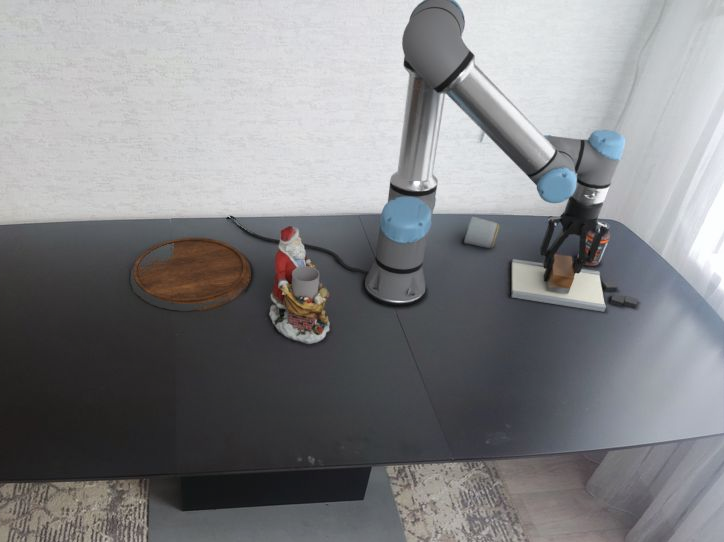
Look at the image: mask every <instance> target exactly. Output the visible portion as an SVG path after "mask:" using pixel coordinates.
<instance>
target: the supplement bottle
mask: <svg viewBox="0 0 724 542" xmlns="http://www.w3.org/2000/svg"><path fill="white" fill-rule="evenodd" d="M598 222H599V223H602V224H603V223H606V224H607V229H608V231H607V232H606V233H605V234H604V235H603V237H602V239H601V242H600V244H599V247H598V250H597V252H596V255H595V258H594V260H593V262H591V263H590V262H585V264H584V265H583V266H587V267H596V266H598V265H599V264H600V263H601V261H602V258H603V255H604V253H605V250H606V248H607V246H608V243H609V241H610V238H611V234H610V232H609V230H610V228H611V225H610V224H609V223H608V222H605V221H600V220H598ZM595 233H596V227H595V228H593V229H592V230H590V231H589V232H587V235H586V249H585V255H588V252H589V249H590V246H591V244H592V241H593V238H594V235H595ZM576 258H578V259H579V251H578V252H577V255H576Z"/></svg>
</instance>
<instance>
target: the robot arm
mask: <svg viewBox="0 0 724 542" xmlns="http://www.w3.org/2000/svg"><path fill="white" fill-rule="evenodd" d="M465 25H466V20H465V15H464V11H463V8H462V7H461V5H460V4H459V3H458V2H457V1H456V0H422V1H421V2H420V3H418V4H417V5H416V6H415V7H414V8H413V10H412V12H411V14H410V16H409V19H408V22H407V24H406V25H405V28H404V30H403V34H402V38H401V40H402V41H401V44H402V45H401V47H402V52H403V55H404V58H403V65H402V67H403V68H404V70H405V71H406V72H407V74H408V80H407V90H406V98H405V107H404V114H403V122H402V131H401V139H400V148H399V155H398V164H397V171H395V172H394V173H392V175H391V176H390V179H389V189H388V197H387V202H386V203H385V204H384V206H383V208H382V210H381V213H380V216H379V231H378V238H377V245H376V252H375V259H374V262H373V264H372V266H371V268H370V269H369V271H367V270H364V269H361V268H357V267H354V266H353V267H352V266H350V265H347V264H346V263H344V261H343V260H342V259H341V258H340V257H339V255H338V254H337V253H335V252H333V251H332V250H329V249H327V248H324V247H321V246H316V245H312V244H308V243H302V244H303V245H304V248H307V249H312V250H316V251H320V252H324V253H327V254H328V255H331V257H333V258H335V259H336V261H337V262H338V263H339V264H340V266H342V267H343V268H344V269H346V270H348V271H350V272H351V271H352V272H356V273H360V274H362V275H363V274H364V275H366V277H365V281H364V291H365V293H366V295H368V296H369V298H371V299H372V300H374V301H375V302H377V303H379V304H383V305H386V306H389V307H390V306H391V307H408V306H412V305H415V304H417V303H419V302H420V301H421V300H422V299H423V298H424V296H425V293H426V279H425V274H424V269H423V265H424V259H425V254H426V248H427V243H428V238H429V232H430V229H431V226H432V219H433V218H432V217H433V212H434V210H435V206H436V203H437V198H436V197H437V196H436V195H437V189H438V178H437V176H435V174H434V168H435V162H436V156H437V149H438V144H439V143H438V142H439V138H440V137H439V136H440V131H441V124H442V119H443V111H444V104H445V98H446V96H448V97H449V98H450V100H451V101H452V102H454V104H455V105H457V107H458V108H460V110H461V111H463V113H464V114H465V115H467V116H468V118H469V119H470V120H471V121H472V122H473V123H474V124H475V125H476V126H477V127H479V129H480V130H481V131H482V132H483V133H484V134H485V136H487V137H488V138H489V139H490V140H491V141H492V142H493V143H494V144H495V145H496V146H497V147H498V148H499V149H500V150H501V151H502V153H504V154H505V155H506V156H507V157H508V158H509V159H510V160H511V161H512V162H513V163H514V164H515V165H516V166H517V167H518V168H519V169H520V171H522V172H523V173H524V174H525V175H526V176H527V177H528V178H529V179H530V181H531V182H532V183H533V184H534V185H535V186H536V191H537V194H538V195H539V197H540V199H542V200H543V201H545V202H547V203H549V204H560V203H563V202H566V201H567V202H566V204H565V205H566V206H565V208H564V211H563V212H562V213H561V214H560V216H555V217H554V216H552V215H549V216H548V218H547V221H548V222H547V223H548V225H547V228H546V231H545V234H544V236H543V240H542V242H541V244H540V248H539V251H540V252H539V253H540V256H542V257H544V260H543V262H542V263H543V266H544V269H546V270H545V273H544V281H545V282H547V281H548V278H549V275H550V272H551V269H552V266H553V264H554V261H555V259H554V255H555V254H557V252H558V250H559V249H560V247H562V246H563V243H564V242H565V241H566V239H568V237H569V236H570V235H571V236H572V235H575V236H577V237H578V236H579V242H578V252H579V259H578V258H577V257H574V259H573V261H572V263H573V270H574V276H575V273H578V274H579V273H580V271H581V269H583V266H585V265H584V264H585V262H590V263H591V262H593V260H594V258H595V255H596V252H597V250H598V247H599V244H600V242H601V239H602V237H603V235H604V234H605V233H606V232H607V231H608V229H607V224H608V223H607V222H605V223H603V224H602V223H599V222H598V221H599V220H598V219H599V216H600V213H601V211H602V209H603V206H604V202H605V200H606V198H607V195H608V192H609V189H610V187H611V184H612V182H613V178H614V176H615V174H616V171H617V169H618V166H619V164H620V162H621V160H622V155H623V152H624V150H625V147H626V138H625V136H623V134H621V133H620V132H617V131H614V130H609V129H597V130H594V131H592V132H591V134H590V135H589V137H588V138H587V139H585V138H583V139H579V138H571V137H563V136H554V135H551V134H548V135H546V134H543V133H542V132H541V131H540V130H539V129H538V128H537V127H536V126H535V125H534V124H533V123H532V122H531V121H530V120H529V119H528V118H527V117H526V115H524V114H523V112H521V110H519V108H518V107H517V106H516V105H515V104H514V103H513V102H512V101H511V100H510V99H509V97H507V96H506V95H505V93H503V91H501V90H500V88H499V87H498V86H497V85H496V84H495V83H494V82H493V81H492V80H491V79H490V78H489V77H488V76H487V75H486V74H485V73H484V72H483V71H482V70H481V68H480V67H479V66H478V65H476V63H475V62H476V60H475V59H476V55H475V54H474V53H473V52H472V51H471V50H470V49H469V48H468V46H467V45H466V43H465V41H464V40H463V34H464V31H465ZM229 216H230V217H231V218H233V219H235V220H237V219H236V217H235V216H233V215H229ZM225 218H226V219H227V220H231V218H229V217H228V216H226V217H225ZM559 223H560V224H561V226H562V228H561V230H560V232H559V233H558V235H556V237H555V239H554V240H553V242H552V243H551V240H552V237H553V235H554V231H555V228H556V227H557V226H558V225H559ZM606 223H607V224H606ZM235 225H236V226H237V227H238V228H239V229H240V230H241V231H243V232H245V233H246V234H248V235H250V236H251V237H253V238H257V239H259V240H263V241H266V242H270V243H277V244H280V243H279V242H280V239H275V238H271V237H266V236H262V235H259V234H257V233H255V232H252V231H251V230H249V231H250V232H252V233H253V234H252V233H250V232H248V231H247V230H248V229H247V230H245V229H244V228H245V227H244V228H242V227H241V226H242V225H241V226H239V225H237V224H236V223H235ZM595 227H596V233H595V235H594V238H593V241H592V244H591V246H590V249H589V252H588V255H585V249H586V235H587V232H589V231H590V230H592V229H593V228H595ZM608 232H609V231H608ZM550 243H551V245H550Z"/></svg>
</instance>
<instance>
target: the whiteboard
mask: <svg viewBox="0 0 724 542" xmlns="http://www.w3.org/2000/svg"><path fill="white" fill-rule="evenodd" d="M543 263H544V262H538V261H537V262H536V261H531V260H524V259H517V258H512V259H511V263H510V264H511V265H510V266H511V273H510V274H511V278H510V279H511V281H510V282H511V291H510V294H511V295H510V297H511V298H513V299H520V300H526V301H532V302H540V303H546V304H550V305H551V304H553V305H559V306H565V307H571V308H578V309H584V310H589V311H596V312H603V313H604V312H605V311H606V308H607V304H605V300H604V298H605V297H604V293H603V287H602V286H601V284H602V282H601V273H600V271H599V270H591V269H585V268H582V269H581V271H580V273H579V274H578V273H575V276H574V280H573V283H572V285H571V288H570V291H569V293H568V294H566V293H559V292H553V291H547V282H545V281H544V273H545V270H546V269H544V266H543Z"/></svg>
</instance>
